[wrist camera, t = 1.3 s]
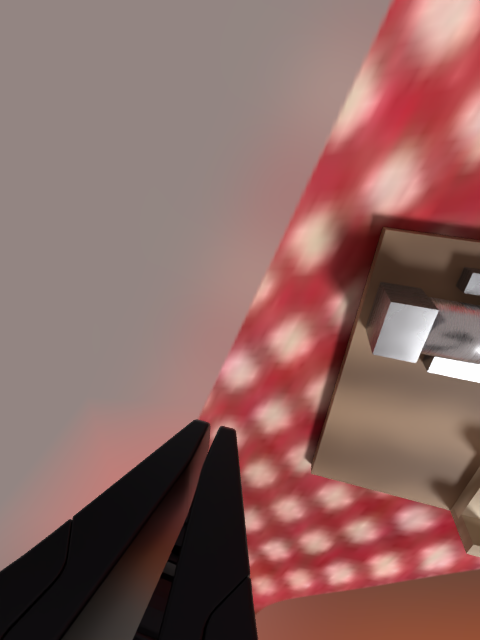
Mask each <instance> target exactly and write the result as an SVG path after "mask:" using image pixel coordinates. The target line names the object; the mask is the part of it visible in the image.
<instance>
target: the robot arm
mask: <svg viewBox="0 0 480 640" xmlns="http://www.w3.org/2000/svg"><path fill="white" fill-rule="evenodd" d="M209 439H210V424H209V423H208V422H205V421H201V420H194V421H192V422H191V423H190V424H188V425H187V426H186V427H185V428H183V429H182V430H181V431H180V432H178V433H177V434H176V435H175V436H173V437H172V438H171V439H170V440H168V441H167V442H166V443H165V444H163V445H162V446H161V447H160V448H159V449H157V450H156V451H155V452H153V453H152V454H151V455H150V456H148V457H147V458H146V459H145V460H143V461H142V462H141V463H140V464H138V465H137V466H136V467H135V468H133V469H132V470H131V471H130V472H128V473H127V474H126V475H125V476H123V477H122V478H121V479H120V480H118V481H117V482H116V483H115V484H113V485H112V486H111V487H110V488H108V489H107V490H106V491H105V492H103V493H102V494H101V495H99V496H98V497H97V498H96V499H95V500H93V501H92V502H91V503H90V504H88V505H87V506H86V507H84V508H83V509H82V510H81V511H79V512H78V513H77V514H76V515H74V516H73V520H71V519H70V520H68V521H67V522H65V523H64V524H63V525H62V526H60V527H59V528H58V529H57V530H55V531H54V532H53V533H52V534H50V535H49V536H48V537H46V538H45V539H44V540H42V541H41V542H40V543H39V544H37V545H36V546H35V547H33V548H32V549H31V550H29V551H28V552H27V553H26V554H24V555H23V556H21V557H20V558H19V559H17V560H16V561H14V562H13V563H12V564H10V565H9V566H7V567H6V568H4V569H3V570H2V571H0V640H258V636H257V628H256V620H255V612H254V604H253V595H252V585H251V579H250V578H249V577H250V566H249V557H248V547H247V537H246V527H245V517H244V507H243V497H242V487H241V477H240V467H239V457H238V447H237V437H236V431H235V429H233V428H229V427H225V426H221V427H220V428H219V430H218V432H217V434H216V436H215V438H214V441H213V443H212V445H211V447H210V450H209V452H208V448H209ZM207 453H208V454H207Z"/></svg>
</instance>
